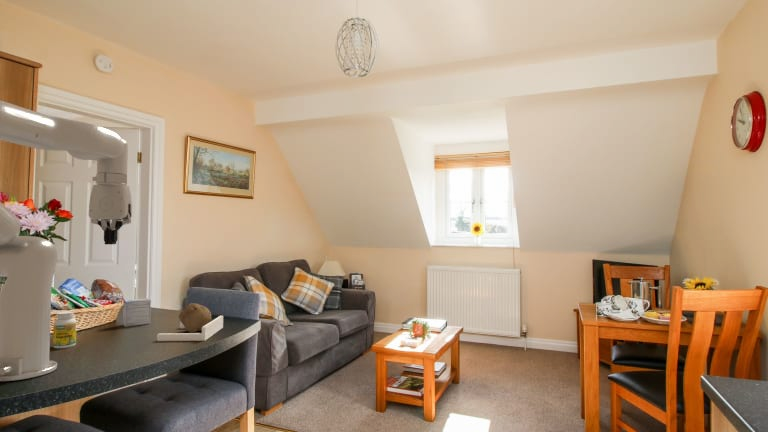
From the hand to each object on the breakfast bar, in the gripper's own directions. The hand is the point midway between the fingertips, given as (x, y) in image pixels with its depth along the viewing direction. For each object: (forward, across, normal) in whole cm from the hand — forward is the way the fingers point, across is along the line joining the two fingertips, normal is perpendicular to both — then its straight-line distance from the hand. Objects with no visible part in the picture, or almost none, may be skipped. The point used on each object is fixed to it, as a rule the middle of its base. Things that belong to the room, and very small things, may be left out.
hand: (110, 244), depth 128 cm
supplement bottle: (+29, -12, 0) cm, 32 cm away
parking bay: (+29, +18, +14) cm, 37 cm away
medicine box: (+29, -6, +29) cm, 42 cm away
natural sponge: (+24, +13, +16) cm, 32 cm away
